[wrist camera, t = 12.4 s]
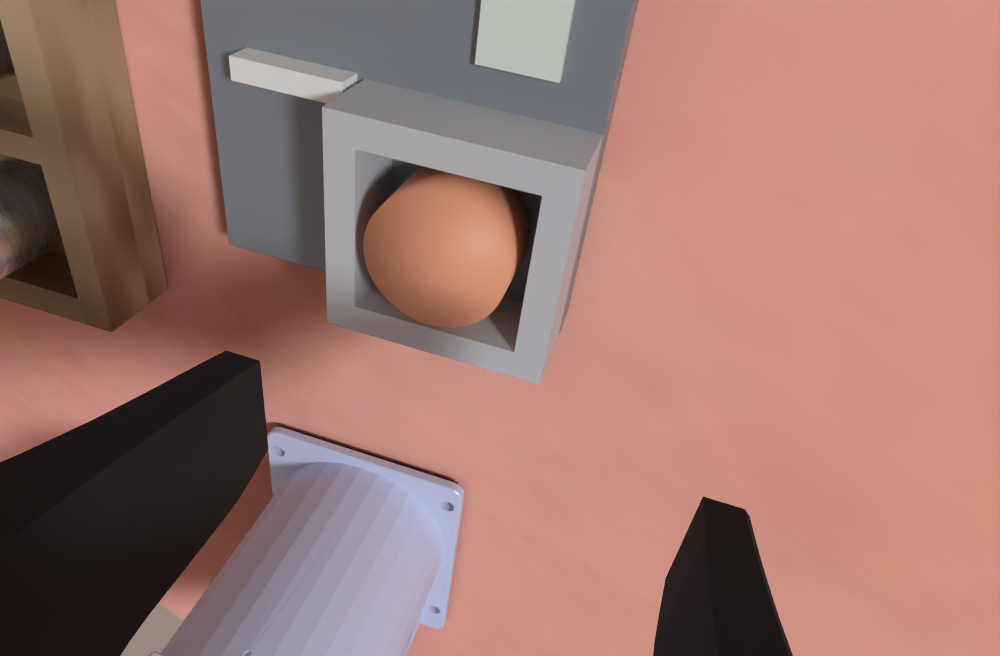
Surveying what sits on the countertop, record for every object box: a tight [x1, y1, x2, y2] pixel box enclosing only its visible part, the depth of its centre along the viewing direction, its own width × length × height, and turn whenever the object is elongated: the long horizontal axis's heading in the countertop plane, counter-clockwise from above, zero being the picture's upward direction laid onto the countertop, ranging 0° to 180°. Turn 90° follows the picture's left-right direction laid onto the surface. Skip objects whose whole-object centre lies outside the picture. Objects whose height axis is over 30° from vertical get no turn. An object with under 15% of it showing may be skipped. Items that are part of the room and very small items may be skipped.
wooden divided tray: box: [0, 0, 168, 332], centre depth 21 cm, size 12×6×3 cm, turn 172°
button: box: [363, 166, 529, 328], centre depth 18 cm, size 4×4×2 cm
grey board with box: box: [200, 0, 638, 384], centre depth 17 cm, size 11×10×3 cm
